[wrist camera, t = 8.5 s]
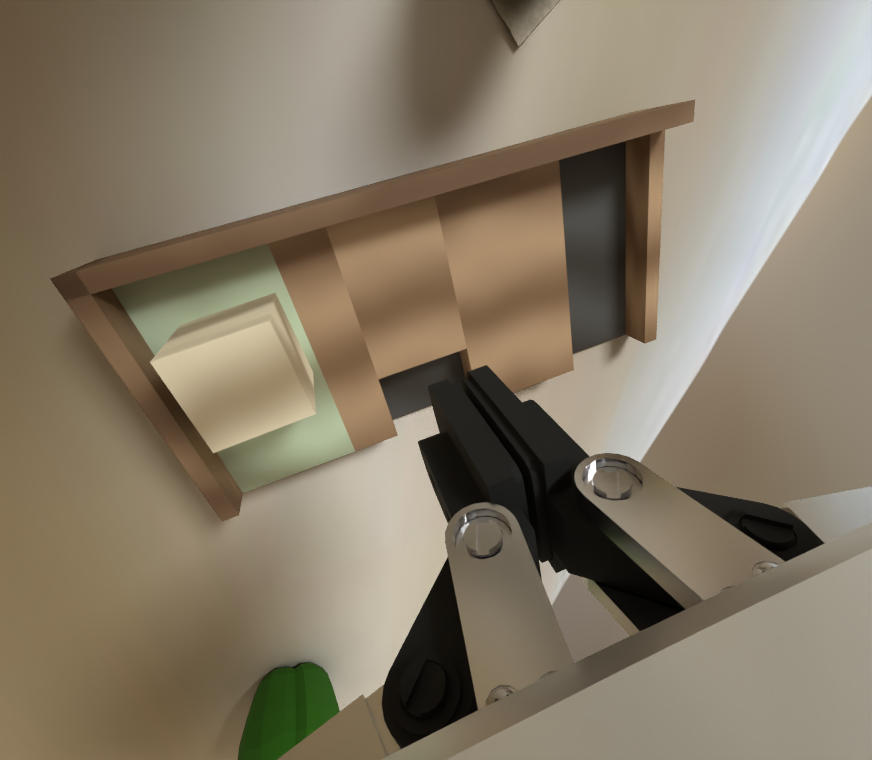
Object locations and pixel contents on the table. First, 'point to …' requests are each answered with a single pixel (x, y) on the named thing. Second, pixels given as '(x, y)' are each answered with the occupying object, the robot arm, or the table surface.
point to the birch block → (238, 372)
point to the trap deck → (402, 288)
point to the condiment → (523, 15)
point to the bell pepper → (287, 711)
